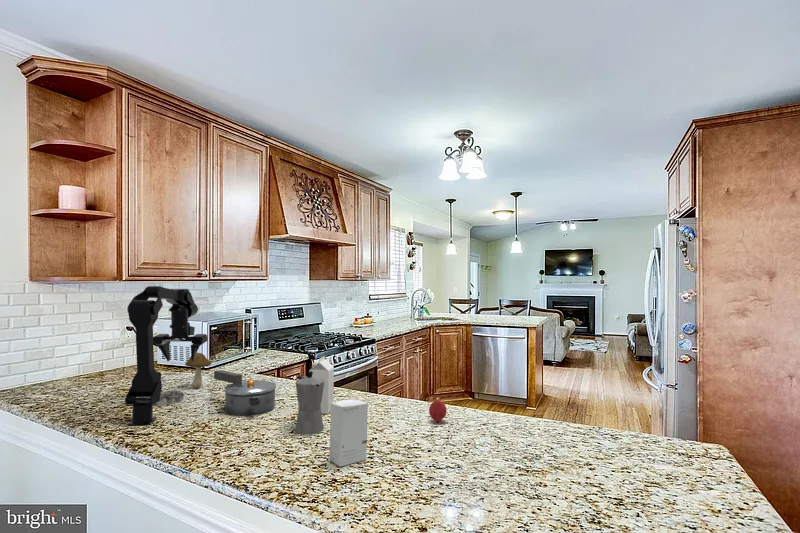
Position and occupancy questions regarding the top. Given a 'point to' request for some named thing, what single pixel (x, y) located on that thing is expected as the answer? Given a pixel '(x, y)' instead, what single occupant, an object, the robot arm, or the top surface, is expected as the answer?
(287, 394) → the top surface
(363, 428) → the skincare box
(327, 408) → the milk carton
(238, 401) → the cooking pot
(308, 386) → the coffeepot
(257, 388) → the pot lid
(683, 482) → the top surface
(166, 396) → the egg carton
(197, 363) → the mushroom
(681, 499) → the top surface
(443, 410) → the onion
